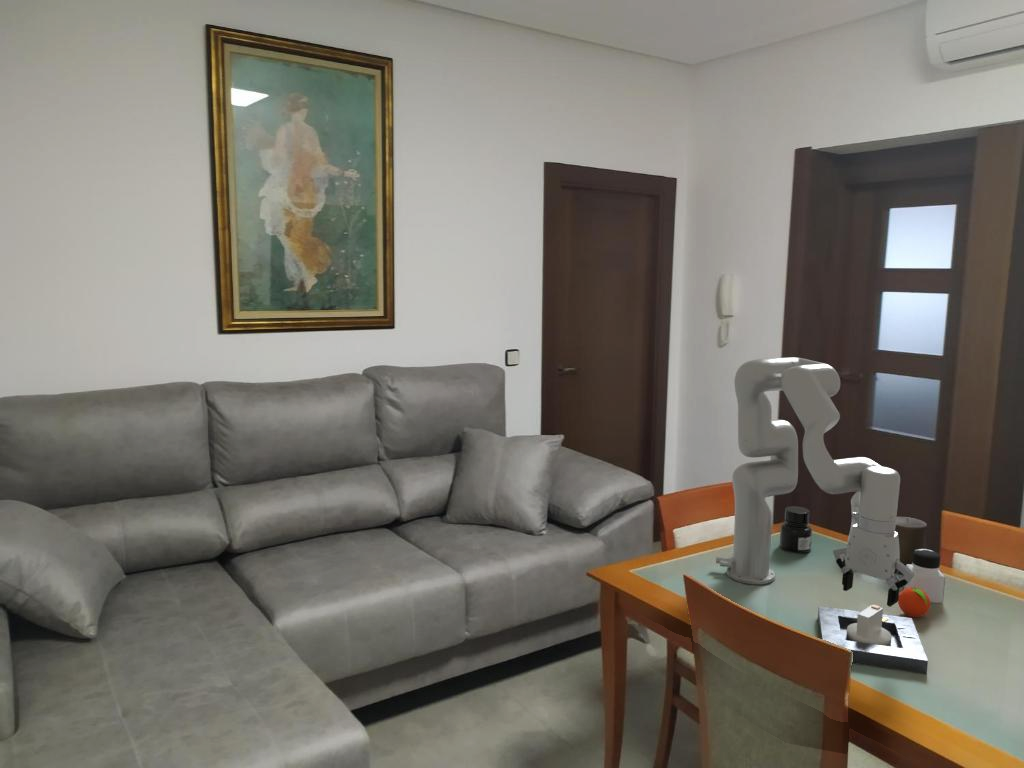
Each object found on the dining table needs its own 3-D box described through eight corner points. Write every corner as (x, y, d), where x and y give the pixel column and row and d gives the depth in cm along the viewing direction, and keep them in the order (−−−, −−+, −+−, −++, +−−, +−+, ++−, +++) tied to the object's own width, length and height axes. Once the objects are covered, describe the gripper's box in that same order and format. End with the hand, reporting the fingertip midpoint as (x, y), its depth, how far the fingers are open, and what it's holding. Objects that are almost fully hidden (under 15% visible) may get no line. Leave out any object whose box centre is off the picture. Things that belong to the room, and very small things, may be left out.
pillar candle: (921, 578, 204) (926, 525, 202) (881, 571, 209) (885, 518, 207) (924, 567, 212) (928, 515, 210) (885, 560, 217) (889, 509, 215)
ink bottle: (807, 556, 220) (809, 517, 218) (775, 550, 224) (777, 511, 222) (814, 546, 228) (816, 507, 226) (784, 540, 232) (786, 503, 231)
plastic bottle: (842, 545, 228) (847, 481, 225) (864, 545, 228) (869, 480, 225) (854, 553, 221) (858, 487, 218) (876, 553, 222) (881, 487, 219)
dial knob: (879, 652, 163) (882, 623, 162) (839, 637, 170) (841, 608, 168) (898, 639, 168) (900, 610, 167) (858, 625, 175) (859, 597, 174)
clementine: (939, 623, 179) (941, 594, 178) (912, 625, 178) (915, 597, 177) (916, 608, 187) (918, 580, 185) (890, 610, 185) (892, 582, 184)
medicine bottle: (943, 603, 189) (947, 558, 187) (912, 601, 190) (916, 556, 188) (933, 591, 196) (937, 547, 194) (903, 589, 197) (907, 545, 195)
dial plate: (822, 658, 163) (823, 644, 163) (817, 617, 182) (818, 605, 181) (926, 674, 157) (927, 659, 156) (910, 630, 175) (911, 617, 175)
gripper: (829, 516, 169) (823, 588, 172) (910, 539, 156) (902, 616, 159) (845, 509, 174) (839, 578, 177) (925, 530, 161) (916, 605, 164)
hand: (869, 596), depth 168 cm, fingers open, 9 cm apart
